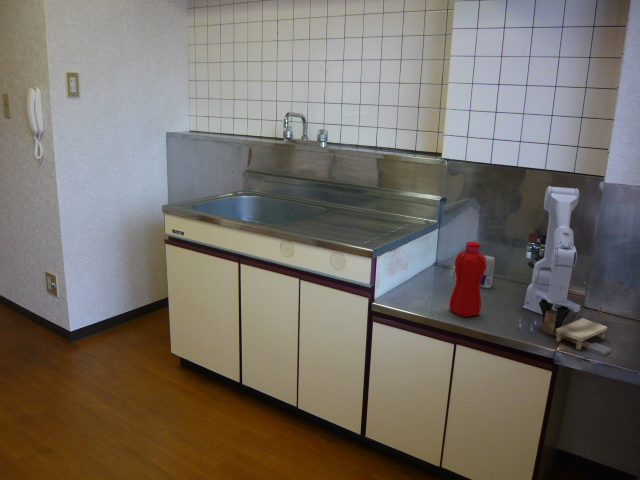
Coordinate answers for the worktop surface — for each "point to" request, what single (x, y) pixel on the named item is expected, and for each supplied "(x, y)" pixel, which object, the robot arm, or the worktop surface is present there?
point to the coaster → (599, 349)
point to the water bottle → (468, 281)
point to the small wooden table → (581, 331)
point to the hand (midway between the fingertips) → (551, 325)
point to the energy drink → (488, 272)
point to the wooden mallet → (550, 328)
